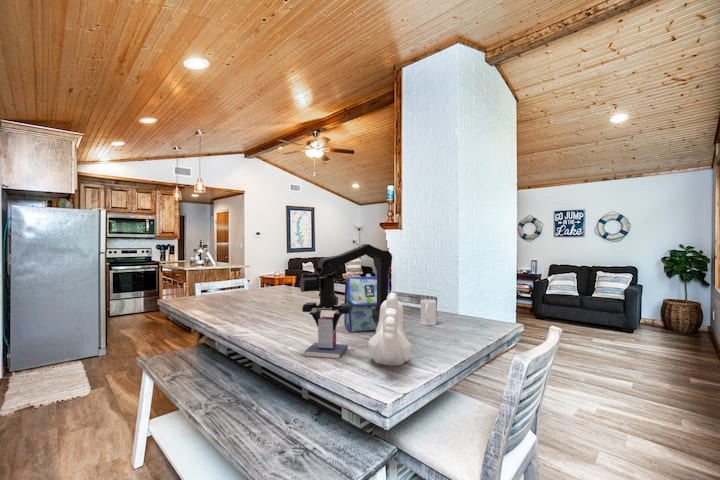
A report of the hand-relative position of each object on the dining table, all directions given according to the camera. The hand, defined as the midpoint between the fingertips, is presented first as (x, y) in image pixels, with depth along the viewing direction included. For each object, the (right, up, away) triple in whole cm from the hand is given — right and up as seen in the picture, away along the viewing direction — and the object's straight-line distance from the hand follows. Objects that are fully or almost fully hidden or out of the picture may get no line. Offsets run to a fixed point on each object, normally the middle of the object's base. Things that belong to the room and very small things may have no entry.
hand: (327, 329), depth 136 cm
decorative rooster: (+22, -9, -13) cm, 28 cm away
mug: (+48, -9, +46) cm, 68 cm away
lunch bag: (+17, -9, +37) cm, 42 cm away
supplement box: (0, -7, 0) cm, 7 cm away
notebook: (0, -9, 0) cm, 9 cm away
